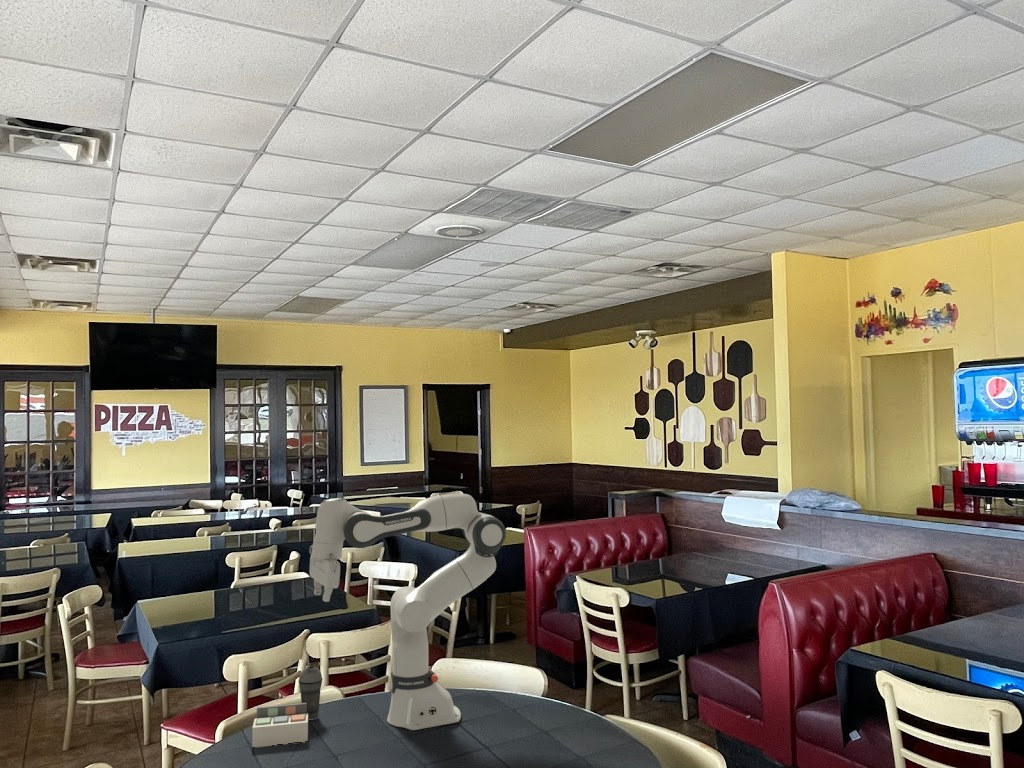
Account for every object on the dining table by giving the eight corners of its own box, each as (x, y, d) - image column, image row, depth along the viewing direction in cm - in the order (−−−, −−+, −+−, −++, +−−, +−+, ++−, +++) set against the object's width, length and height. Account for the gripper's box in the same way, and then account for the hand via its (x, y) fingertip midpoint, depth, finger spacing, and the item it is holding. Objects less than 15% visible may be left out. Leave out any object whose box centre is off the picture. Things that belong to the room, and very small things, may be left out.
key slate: (287, 722, 221) (287, 715, 221) (287, 727, 218) (287, 720, 218) (274, 724, 220) (274, 717, 220) (273, 728, 217) (274, 721, 217)
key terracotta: (304, 721, 222) (304, 714, 223) (304, 725, 219) (304, 718, 219) (291, 722, 222) (292, 715, 222) (291, 727, 218) (291, 719, 218)
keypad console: (308, 730, 226) (308, 702, 226) (307, 741, 217) (307, 713, 218) (255, 735, 222) (255, 707, 223) (252, 747, 214) (252, 718, 214)
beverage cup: (315, 723, 231) (316, 656, 232) (293, 721, 232) (294, 655, 234) (326, 714, 238) (326, 649, 239) (304, 713, 240) (305, 648, 241)
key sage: (270, 724, 220) (270, 717, 220) (269, 729, 217) (269, 722, 217) (257, 725, 219) (257, 718, 219) (256, 730, 216) (256, 723, 216)
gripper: (347, 557, 223) (341, 605, 222) (328, 547, 241) (322, 591, 239) (326, 556, 220) (320, 605, 219) (308, 546, 238) (302, 591, 236)
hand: (321, 597), depth 229 cm, fingers open, 8 cm apart
